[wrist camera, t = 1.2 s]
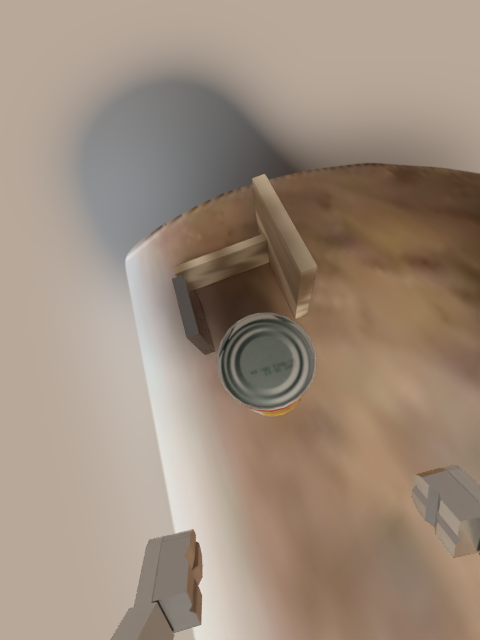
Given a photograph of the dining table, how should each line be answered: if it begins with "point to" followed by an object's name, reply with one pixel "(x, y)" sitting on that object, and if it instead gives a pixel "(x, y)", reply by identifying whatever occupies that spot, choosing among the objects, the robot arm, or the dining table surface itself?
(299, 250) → the shelf wall
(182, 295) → the bookend
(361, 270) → the dining table surface
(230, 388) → the canned food
